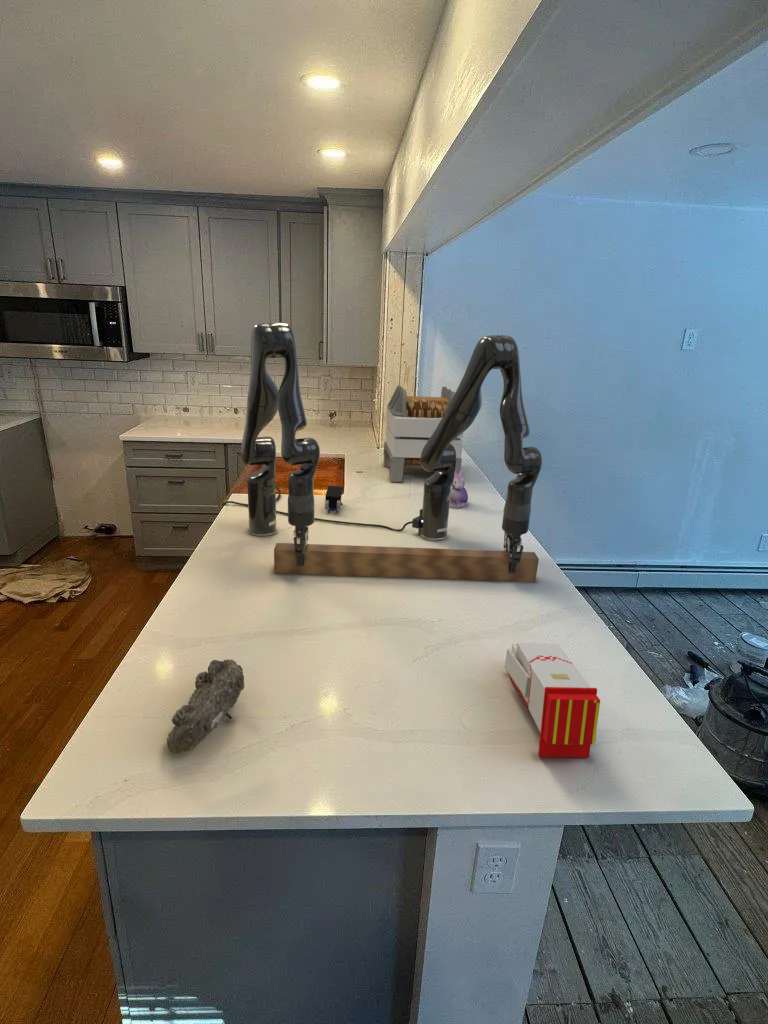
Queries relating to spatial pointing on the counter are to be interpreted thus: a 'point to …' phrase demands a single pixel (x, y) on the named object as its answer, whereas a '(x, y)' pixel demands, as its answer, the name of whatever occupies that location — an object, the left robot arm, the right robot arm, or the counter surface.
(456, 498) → the figurine
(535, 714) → the toy
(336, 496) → the figurine character
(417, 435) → the transformer
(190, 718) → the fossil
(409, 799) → the counter surface
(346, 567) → the post
